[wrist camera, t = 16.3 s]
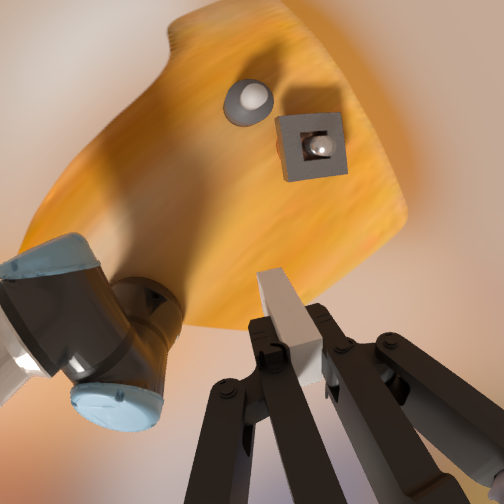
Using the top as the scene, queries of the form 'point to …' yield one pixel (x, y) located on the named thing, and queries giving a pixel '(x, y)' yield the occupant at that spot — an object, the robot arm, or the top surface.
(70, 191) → the top surface
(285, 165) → the hollow square frame
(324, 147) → the hub
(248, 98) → the stand
